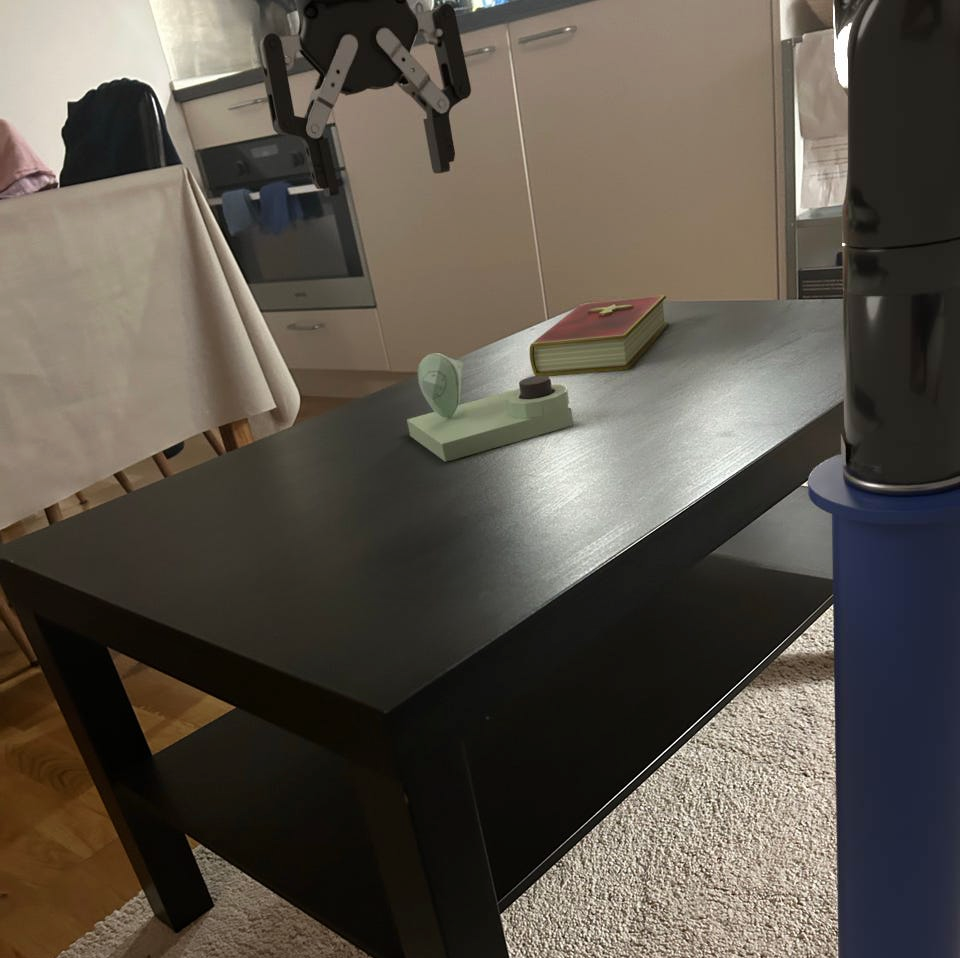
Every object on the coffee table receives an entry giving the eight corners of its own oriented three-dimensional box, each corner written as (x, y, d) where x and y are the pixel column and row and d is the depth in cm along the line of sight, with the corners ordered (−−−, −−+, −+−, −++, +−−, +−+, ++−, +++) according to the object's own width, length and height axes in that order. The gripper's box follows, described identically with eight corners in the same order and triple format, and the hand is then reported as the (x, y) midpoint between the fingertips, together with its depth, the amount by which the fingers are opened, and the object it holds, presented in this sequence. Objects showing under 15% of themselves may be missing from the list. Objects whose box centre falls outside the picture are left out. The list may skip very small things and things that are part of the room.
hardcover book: (532, 376, 123) (527, 341, 121) (582, 333, 140) (578, 301, 138) (628, 369, 118) (624, 332, 116) (668, 325, 135) (665, 292, 133)
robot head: (450, 429, 103) (437, 362, 99) (413, 431, 104) (400, 366, 101) (477, 404, 109) (466, 341, 106) (442, 407, 110) (430, 345, 107)
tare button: (545, 390, 105) (542, 373, 104) (557, 395, 102) (555, 378, 101) (516, 398, 104) (514, 381, 103) (528, 403, 101) (526, 386, 100)
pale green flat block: (532, 402, 113) (527, 371, 112) (581, 425, 102) (576, 391, 101) (410, 436, 110) (403, 404, 108) (447, 463, 99) (440, 429, 97)
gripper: (238, -78, 62) (305, 205, 70) (453, -109, 65) (495, 164, 73) (222, -54, 69) (285, 203, 76) (419, -83, 72) (460, 165, 79)
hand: (388, 183), depth 74 cm, fingers open, 8 cm apart
